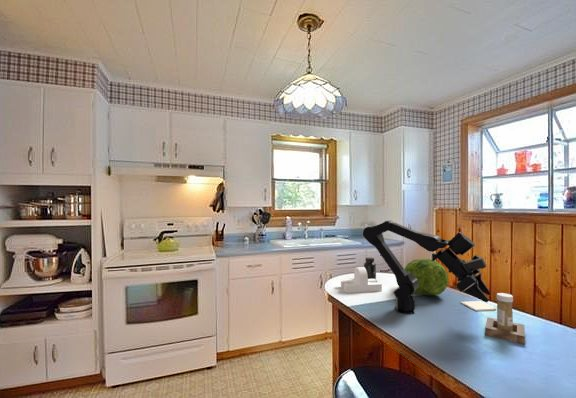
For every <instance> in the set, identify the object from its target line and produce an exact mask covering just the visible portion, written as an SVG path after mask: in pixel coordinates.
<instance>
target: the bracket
mask: <svg viewBox="0 0 576 398" xmlns="http://www.w3.org/2000/svg"><path fill="white" fill-rule="evenodd" d="M353 277H354V279H351V278H350V279H341V280H340V288H341V289H343V292H345V293H346V292H347V293H351V292H353V293H373V292H372V291H379V292H383V283H381V282H380V281H379V282H378V280H377V278H376V279H368V275H367V271H366V269H365V267H364V266H356V267H355V268H354V272H353ZM351 294H352V293H351Z"/></svg>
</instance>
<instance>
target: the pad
mask: <svg viewBox="0 0 576 398" xmlns="http://www.w3.org/2000/svg"><path fill="white" fill-rule="evenodd" d="M460 303H461V304H462V305H463V306H466V307H467V308H469V309H471V310H473V311H475V312H484V311H485V312H486V311H497V307H495V306H494V307H493V306H492V305H490V304H488V303H486V302H484V301H482V300H472V301H469V300H468V301H461V302H460Z"/></svg>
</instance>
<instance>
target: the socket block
mask: <svg viewBox="0 0 576 398" xmlns="http://www.w3.org/2000/svg"><path fill="white" fill-rule="evenodd" d="M497 324H498V323H497V318H493V317H487V318H486V322H485V326H484V336H489V337H493V338H497V339H499V340H500V339H501V340H505V341H509V342H515V343H517V344H523V345H525V344H526V333H525V331H526V330H525V329H526V327H525V324H521V323H519V322H518V323H517V322H513V331H508V330H504V329H499V328H498V325H497Z"/></svg>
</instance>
